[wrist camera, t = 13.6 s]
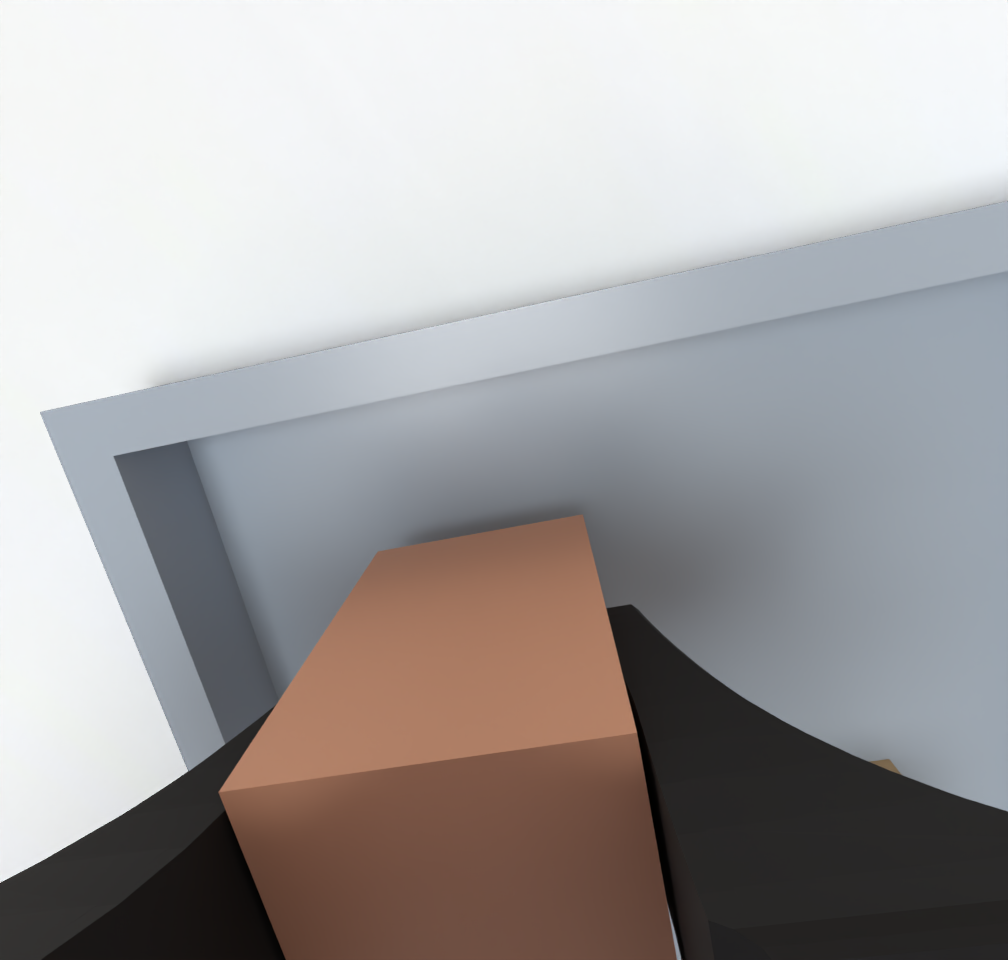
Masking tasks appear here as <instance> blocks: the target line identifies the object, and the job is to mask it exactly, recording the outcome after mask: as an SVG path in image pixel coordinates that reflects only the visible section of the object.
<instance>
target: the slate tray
mask: <svg viewBox="0 0 1008 960" xmlns="http://www.w3.org/2000/svg"><path fill="white" fill-rule="evenodd" d="M40 414H41V416H42V419H43V421H44V423H45V426H46V428H47V431H48V433H49V436H50V438H51V440H52V443H53V445H54V448H55V450H56V452H57V455H58V457H59V460H60V462H61V465H62V467H63V469H64V472H65V474H66V477H67V479H68V481H69V484H70V486H71V489H72V491H73V494H74V496H75V498H76V501H77V503H78V506H79V508H80V510H81V513H82V515H83V518H84V520H85V523H86V525H87V527H88V530H89V532H90V535H91V537H92V539H93V542H94V544H95V547H96V549H97V552H98V554H99V556H100V559H101V561H102V564H103V566H104V568H105V571H106V573H107V576H108V578H109V581H110V583H111V585H112V588H113V590H114V593H115V595H116V597H117V600H118V602H119V605H120V607H121V610H122V612H123V614H124V617H125V619H126V622H127V624H128V626H129V629H130V631H131V634H132V636H133V639H134V641H135V643H136V646H137V648H138V651H139V653H140V655H141V658H142V660H143V663H144V665H145V668H146V670H147V672H148V675H149V677H150V680H151V682H152V684H153V687H154V689H155V692H156V694H157V697H158V699H159V701H160V704H161V706H162V709H163V711H164V713H165V716H166V718H167V721H168V723H169V726H170V728H171V730H172V733H173V735H174V738H175V740H176V743H177V745H178V747H179V750H180V752H181V755H182V757H183V759H184V762H185V764H186V767H187V769H188V771H190V770H191V769H193V768H194V767H195V766H197V765H198V764H200V763H201V762H202V761H204V760H205V759H206V758H208V757H209V756H210V755H212V754H213V753H214V752H216V751H217V750H218V749H220V748H221V747H222V746H224V745H225V744H226V743H227V742H229V741H230V740H231V739H233V738H234V737H235V736H237V735H238V734H239V733H241V732H242V731H243V730H245V729H246V728H247V727H249V726H250V725H251V724H252V723H254V722H255V721H256V720H258V719H259V718H260V717H261V716H263V715H264V714H265V713H266V712H268V711H269V710H270V709H271V708H273V707H274V706H275V705H276V704H277V703H278V701H279V700H280V698H281V697H282V695H283V694H284V692H285V691H286V689H287V688H288V686H289V685H290V683H291V682H292V680H293V679H294V677H295V676H296V674H297V673H298V671H299V670H300V668H301V667H302V665H303V664H304V662H305V661H306V659H307V658H308V656H309V655H310V653H311V652H312V650H313V649H314V647H315V645H316V644H317V642H318V641H319V639H320V638H321V636H322V635H323V633H324V632H325V630H326V629H327V627H328V626H329V624H330V623H331V621H332V620H333V618H334V617H335V615H336V614H337V612H338V611H339V609H340V608H341V606H342V605H343V603H344V602H345V600H346V599H347V597H348V596H349V594H350V593H351V591H352V589H353V588H354V586H355V585H356V583H357V582H358V580H359V579H360V577H361V576H362V574H363V573H364V571H365V570H366V568H367V567H368V565H369V564H370V562H371V561H372V559H373V558H374V556H375V555H376V553H377V552H378V551H383V550H388V549H394V548H399V547H405V546H410V545H416V544H421V543H427V542H432V541H438V540H443V539H449V538H455V537H460V536H466V535H471V534H477V533H482V532H488V531H493V530H499V529H504V528H510V527H515V526H521V525H526V524H532V523H538V522H543V521H549V520H554V519H560V518H565V517H571V516H576V515H582V514H583V517H584V521H585V525H586V529H587V533H588V537H589V541H590V545H591V549H592V553H593V557H594V561H595V565H596V569H597V573H598V577H599V581H600V585H601V589H602V593H603V598H604V602H605V606H606V608H611V607H617V606H623V605H629V604H632V605H633V606H634V607H636V608H637V609H639V611H640V612H641V613H642V614H643V615H644V616H645V617H646V618H647V619H648V620H649V621H650V622H651V623H652V624H653V625H654V626H655V627H656V628H657V629H658V630H659V631H660V632H661V633H662V634H663V635H664V636H665V637H666V638H667V639H668V640H669V641H671V642H672V643H673V644H674V645H675V646H676V647H677V648H679V649H680V650H681V651H682V652H683V653H685V654H686V655H687V656H688V657H689V658H691V659H692V660H693V661H694V662H695V663H697V664H698V665H699V666H700V667H702V668H703V669H704V670H706V671H707V672H708V673H709V674H711V675H712V676H713V677H715V678H716V679H718V680H719V681H720V682H722V683H723V684H725V685H726V686H727V687H729V688H730V689H731V690H733V691H734V692H736V693H737V694H739V695H740V696H742V697H743V698H745V699H746V700H748V701H750V702H752V703H753V704H755V705H757V706H758V707H760V708H762V709H764V710H765V711H767V712H769V713H770V714H772V715H774V716H776V717H777V718H779V719H781V720H782V721H784V722H786V723H788V724H790V725H792V726H794V727H796V728H798V729H800V730H801V731H803V732H805V733H807V734H809V735H812V736H814V737H816V738H818V739H820V740H822V741H824V742H826V743H828V744H831V745H833V746H835V747H837V748H839V749H841V750H843V751H845V752H848V753H850V754H852V755H854V756H856V757H859V758H861V759H864V760H866V761H868V762H870V761H877V760H885V759H890V761H891V762H892V763H893V764H894V766H895V767H896V768H897V769H898V771H899V772H900V773H901V774H902V775H903V776H906V777H908V778H911V779H914V780H916V781H919V782H922V783H924V784H927V785H930V786H932V787H935V788H938V789H940V790H943V791H946V792H948V793H951V794H954V795H957V796H960V797H963V798H966V799H969V800H972V801H976V802H979V803H982V804H985V805H989V806H992V807H995V808H998V809H1002V810H1005V811H1008V201H1006V202H1001V203H996V204H992V205H987V206H983V207H978V208H974V209H969V210H964V211H960V212H955V213H951V214H946V215H941V216H937V217H932V218H928V219H923V220H919V221H914V222H909V223H905V224H900V225H896V226H891V227H886V228H882V229H877V230H873V231H868V232H864V233H859V234H854V235H850V236H845V237H841V238H836V239H831V240H827V241H822V242H818V243H813V244H808V245H804V246H799V247H795V248H790V249H786V250H781V251H776V252H772V253H767V254H763V255H758V256H753V257H749V258H744V259H740V260H735V261H731V262H726V263H721V264H717V265H712V266H708V267H703V268H698V269H694V270H689V271H685V272H680V273H676V274H671V275H666V276H662V277H657V278H653V279H648V280H643V281H639V282H634V283H630V284H625V285H620V286H616V287H611V288H607V289H602V290H598V291H593V292H588V293H584V294H579V295H575V296H570V297H565V298H561V299H556V300H552V301H547V302H543V303H538V304H533V305H529V306H524V307H520V308H515V309H510V310H506V311H501V312H497V313H492V314H487V315H483V316H478V317H474V318H469V319H465V320H460V321H455V322H451V323H446V324H442V325H437V326H432V327H428V328H423V329H419V330H414V331H410V332H405V333H400V334H396V335H391V336H387V337H382V338H377V339H373V340H368V341H364V342H359V343H355V344H350V345H345V346H341V347H336V348H332V349H327V350H322V351H318V352H313V353H309V354H304V355H299V356H295V357H290V358H286V359H281V360H277V361H272V362H267V363H263V364H258V365H254V366H249V367H244V368H240V369H235V370H231V371H226V372H222V373H217V374H212V375H208V376H203V377H199V378H194V379H189V380H185V381H180V382H176V383H171V384H167V385H162V386H157V387H153V388H148V389H144V390H139V391H134V392H130V393H125V394H121V395H116V396H111V397H107V398H102V399H98V400H93V401H89V402H84V403H79V404H75V405H70V406H66V407H61V408H56V409H52V410H47V411H43V412H40ZM667 905H668V904H667ZM668 911H669V908H668ZM669 916H670V912H669ZM670 922H671V928H672V933H673V939H674V945H675V950H676V956H677V960H681V956H680V952H679V947H678V943H677V938H676V934H675V931H674V927H673V923H672V919H671V916H670Z"/></svg>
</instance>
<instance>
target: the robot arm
mask: <svg viewBox="0 0 1008 960" xmlns="http://www.w3.org/2000/svg"><path fill="white" fill-rule="evenodd" d="M606 610H607V614H608V618H609V622H610V626H611V630H612V634H613V638H614V642H615V646H616V650H617V654H618V658H619V662H620V666H621V670H622V674H623V678H624V682H625V686H626V690H627V694H628V698H629V702H630V706H631V710H632V714H633V718H634V722H635V726H636V730H637V735H638V741H639V746H640V752H641V758H642V763H643V769H644V775H645V780H646V786H647V792H648V797H649V803H650V809H651V814H652V820H653V826H654V831H655V837H656V843H657V848H658V854H659V860H660V865H661V871H662V877H663V882H664V888H665V894H666V899H667V904H668V908H669V912H670V916H671V919H672V923H673V927H674V931H675V934H676V938H677V943H678V947H679V952H680V956H681V960H1008V811H1005V810H1002V809H998V808H995V807H992V806H989V805H985V804H982V803H979V802H976V801H972V800H969V799H966V798H963V797H960V796H957V795H954V794H951V793H948V792H946V791H943V790H940V789H938V788H935V787H932V786H930V785H927V784H924V783H922V782H919V781H916V780H914V779H911V778H908V777H906V776H903V775H900V774H898V773H895V772H892V771H890V770H887V769H885V768H883V767H880V766H878V765H876V764H873V763H871V762H868V761H866V760H864V759H861V758H859V757H856V756H854V755H852V754H850V753H848V752H845V751H843V750H841V749H839V748H837V747H835V746H833V745H831V744H828V743H826V742H824V741H822V740H820V739H818V738H816V737H814V736H812V735H809V734H807V733H805V732H803V731H801V730H800V729H798V728H796V727H794V726H792V725H790V724H788V723H786V722H784V721H782V720H781V719H779V718H777V717H776V716H774V715H772V714H770V713H769V712H767V711H765V710H764V709H762V708H760V707H758V706H757V705H755V704H753V703H752V702H750V701H748V700H746V699H745V698H743V697H742V696H740V695H739V694H737V693H736V692H734V691H733V690H731V689H730V688H729V687H727V686H726V685H725V684H723V683H722V682H720V681H719V680H718V679H716V678H715V677H713V676H712V675H711V674H709V673H708V672H707V671H706V670H704V669H703V668H702V667H700V666H699V665H698V664H697V663H695V662H694V661H693V660H692V659H691V658H689V657H688V656H687V655H686V654H685V653H683V652H682V651H681V650H680V649H679V648H677V647H676V646H675V645H674V644H673V643H672V642H671V641H669V640H668V639H667V638H666V637H665V636H664V635H663V634H662V633H661V632H660V631H659V630H658V629H657V628H656V627H655V626H654V625H653V624H652V623H651V622H650V621H649V620H648V619H647V618H646V617H645V616H644V615H643V614H642V613H641V612H640V611H639V609H637V608H636V607H634V606H633V605H632V604H629V605H623V606H617V607H611V608H606ZM276 705H277V704H276ZM276 705H275V706H276ZM275 706H274V707H273V708H271V709H270V710H269V711H268V712H266V713H265V714H264V715H263V716H261V717H260V718H259V719H258V720H256V721H255V722H254V723H252V724H251V725H250V726H249V727H247V728H246V729H245V730H243V731H242V732H241V733H239V734H238V735H237V736H235V737H234V738H233V739H231V740H230V741H229V742H227V743H226V744H225V745H224V746H222V747H221V748H220V749H218V750H217V751H216V752H214V753H213V754H212V755H210V756H209V757H208V758H206V759H205V760H204V761H202V762H201V763H200V764H198V765H197V766H195V767H194V768H193V769H191V770H190V771H188V772H187V773H185V774H184V775H182V776H181V777H180V778H178V779H177V780H175V781H174V782H172V783H171V784H169V785H168V786H166V787H165V788H163V789H162V790H160V791H159V792H157V793H155V794H154V795H152V796H151V797H149V798H148V799H146V800H145V801H143V802H142V803H140V804H139V805H137V806H136V807H134V808H132V809H131V810H129V811H127V812H126V813H124V814H123V815H121V816H119V817H118V818H116V819H114V820H112V821H111V822H109V823H107V824H105V825H104V826H102V827H100V828H99V829H97V830H95V831H93V832H92V833H90V834H88V835H86V836H85V837H83V838H81V839H79V840H78V841H76V842H74V843H73V844H71V845H69V846H67V847H66V848H64V849H62V850H60V851H59V852H57V853H55V854H53V855H52V856H50V857H48V858H47V859H45V860H43V861H41V862H39V863H37V864H35V865H34V866H32V867H30V868H28V869H26V870H24V871H22V872H20V873H18V874H16V875H14V876H13V877H11V878H9V879H7V880H5V881H3V882H1V883H0V960H286V959H285V956H284V954H283V951H282V949H281V946H280V944H279V941H278V939H277V937H276V934H275V932H274V929H273V927H272V924H271V922H270V919H269V917H268V914H267V912H266V909H265V907H264V904H263V902H262V899H261V897H260V894H259V892H258V889H257V887H256V884H255V882H254V879H253V877H252V874H251V872H250V869H249V867H248V864H247V862H246V859H245V857H244V854H243V852H242V850H241V847H240V845H239V842H238V840H237V837H236V835H235V832H234V830H233V827H232V825H231V822H230V820H229V817H228V815H227V812H226V810H225V807H224V805H223V802H222V800H221V797H220V795H219V791H220V789H221V788H222V786H223V785H224V783H225V782H226V780H227V779H228V777H229V776H230V774H231V773H232V771H233V770H234V768H235V767H236V765H237V764H238V762H239V760H240V759H241V757H242V756H243V754H244V753H245V751H246V750H247V748H248V747H249V745H250V744H251V742H252V741H253V739H254V738H255V736H256V735H257V733H258V732H259V730H260V729H261V727H262V726H263V724H264V723H265V721H266V720H267V718H268V717H269V715H270V714H271V712H272V711H273V709H274V708H275Z"/></svg>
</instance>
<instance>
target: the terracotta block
mask: <svg viewBox="0 0 1008 960" xmlns="http://www.w3.org/2000/svg"><path fill="white" fill-rule="evenodd" d="M219 795H220V797H221V800H222V802H223V805H224V807H225V810H226V812H227V815H228V817H229V820H230V822H231V825H232V827H233V830H234V832H235V835H236V837H237V840H238V842H239V845H240V847H241V850H242V852H243V854H244V857H245V859H246V862H247V864H248V867H249V869H250V872H251V874H252V877H253V879H254V882H255V884H256V887H257V889H258V892H259V894H260V897H261V899H262V902H263V904H264V907H265V909H266V912H267V914H268V917H269V919H270V922H271V924H272V927H273V929H274V932H275V934H276V937H277V939H278V941H279V944H280V946H281V949H282V951H283V954H284V956H285V959H286V960H677V956H676V950H675V945H674V939H673V933H672V928H671V922H670V916H669V911H668V905H667V899H666V894H665V888H664V882H663V877H662V871H661V865H660V860H659V854H658V848H657V843H656V837H655V831H654V826H653V820H652V814H651V809H650V803H649V797H648V792H647V786H646V780H645V775H644V769H643V763H642V758H641V752H640V746H639V741H638V735H637V730H636V726H635V722H634V718H633V714H632V710H631V706H630V702H629V698H628V694H627V690H626V686H625V682H624V678H623V674H622V670H621V666H620V662H619V658H618V654H617V650H616V646H615V642H614V638H613V634H612V630H611V626H610V622H609V618H608V614H607V610H606V606H605V602H604V598H603V593H602V589H601V585H600V581H599V577H598V573H597V569H596V565H595V561H594V557H593V553H592V549H591V545H590V541H589V537H588V533H587V529H586V525H585V521H584V517H583V514H582V515H576V516H571V517H565V518H560V519H554V520H549V521H543V522H538V523H532V524H526V525H521V526H515V527H510V528H504V529H499V530H493V531H488V532H482V533H477V534H471V535H466V536H460V537H455V538H449V539H443V540H438V541H432V542H427V543H421V544H416V545H410V546H405V547H399V548H394V549H388V550H383V551H378V552H377V553H376V555H375V556H374V558H373V559H372V561H371V562H370V564H369V565H368V567H367V568H366V570H365V571H364V573H363V574H362V576H361V577H360V579H359V580H358V582H357V583H356V585H355V586H354V588H353V589H352V591H351V593H350V594H349V596H348V597H347V599H346V600H345V602H344V603H343V605H342V606H341V608H340V609H339V611H338V612H337V614H336V615H335V617H334V618H333V620H332V621H331V623H330V624H329V626H328V627H327V629H326V630H325V632H324V633H323V635H322V636H321V638H320V639H319V641H318V642H317V644H316V645H315V647H314V649H313V650H312V652H311V653H310V655H309V656H308V658H307V659H306V661H305V662H304V664H303V665H302V667H301V668H300V670H299V671H298V673H297V674H296V676H295V677H294V679H293V680H292V682H291V683H290V685H289V686H288V688H287V689H286V691H285V692H284V694H283V695H282V697H281V698H280V700H279V701H278V703H277V705H276V706H275V708H274V709H273V711H272V712H271V714H270V715H269V717H268V718H267V720H266V721H265V723H264V724H263V726H262V727H261V729H260V730H259V732H258V733H257V735H256V736H255V738H254V739H253V741H252V742H251V744H250V745H249V747H248V748H247V750H246V751H245V753H244V754H243V756H242V757H241V759H240V760H239V762H238V764H237V765H236V767H235V768H234V770H233V771H232V773H231V774H230V776H229V777H228V779H227V780H226V782H225V783H224V785H223V786H222V788H221V789H220V791H219Z"/></svg>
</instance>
